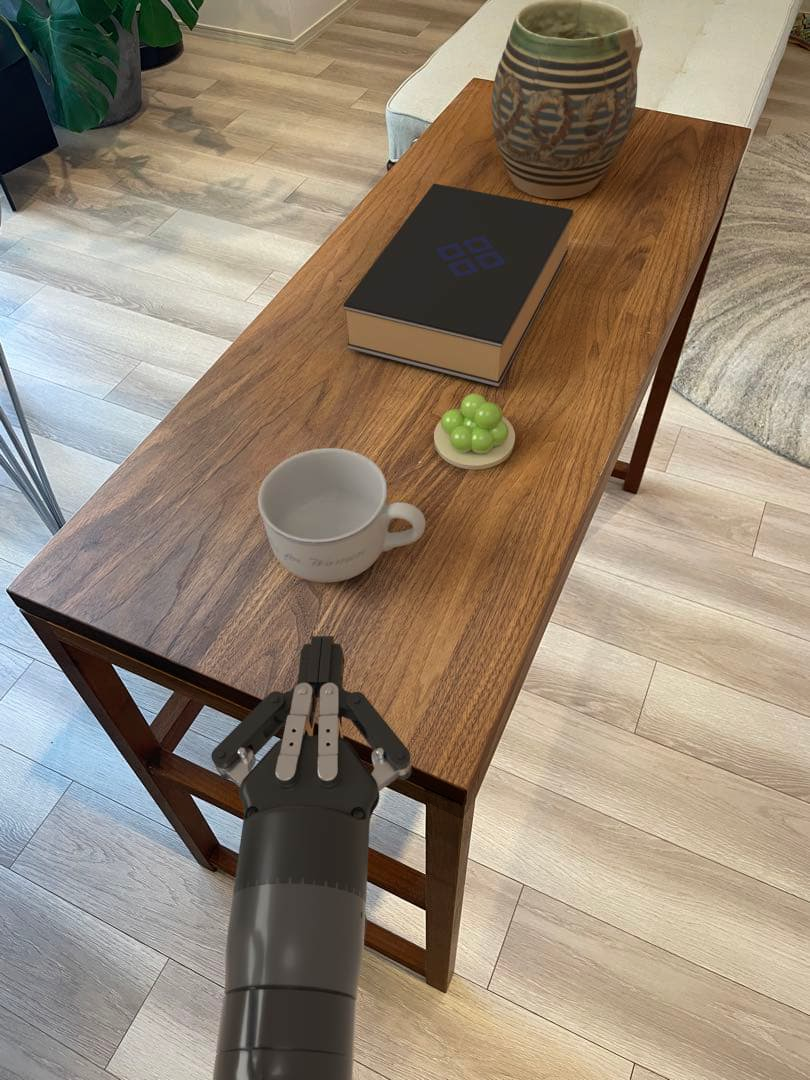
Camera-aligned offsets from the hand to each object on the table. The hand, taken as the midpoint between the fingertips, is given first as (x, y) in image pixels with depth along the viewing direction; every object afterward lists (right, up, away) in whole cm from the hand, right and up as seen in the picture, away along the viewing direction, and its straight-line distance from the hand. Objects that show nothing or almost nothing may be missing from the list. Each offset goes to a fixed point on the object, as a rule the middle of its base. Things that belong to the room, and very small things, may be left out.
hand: (323, 642), depth 57 cm
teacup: (+1, +6, +17) cm, 18 cm away
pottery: (+26, +56, +54) cm, 82 cm away
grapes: (+12, +17, +25) cm, 33 cm away
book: (+12, +34, +38) cm, 53 cm away
